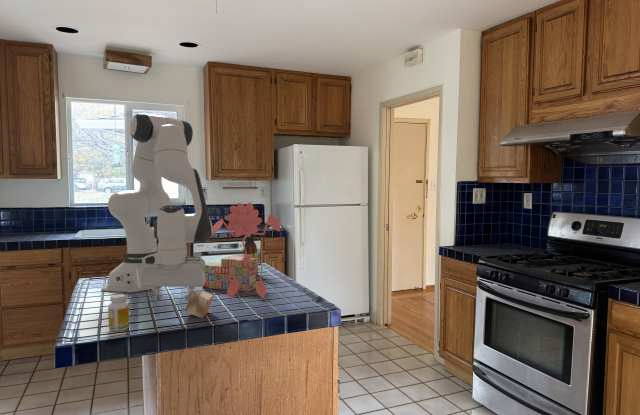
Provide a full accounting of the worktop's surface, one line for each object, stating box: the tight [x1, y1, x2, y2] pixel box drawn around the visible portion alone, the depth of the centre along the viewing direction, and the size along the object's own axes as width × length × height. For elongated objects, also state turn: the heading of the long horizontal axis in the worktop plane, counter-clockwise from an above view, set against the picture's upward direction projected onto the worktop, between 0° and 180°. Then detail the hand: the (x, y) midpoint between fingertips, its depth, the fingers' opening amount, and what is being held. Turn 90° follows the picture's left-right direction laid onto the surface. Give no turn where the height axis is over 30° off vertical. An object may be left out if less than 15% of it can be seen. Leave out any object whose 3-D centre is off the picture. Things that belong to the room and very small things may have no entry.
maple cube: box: [184, 288, 215, 319], centre depth 142 cm, size 6×6×6 cm
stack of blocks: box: [201, 255, 257, 293], centre depth 177 cm, size 21×6×12 cm, turn 71°
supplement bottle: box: [107, 293, 130, 332], centre depth 130 cm, size 5×5×10 cm
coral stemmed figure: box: [212, 202, 281, 308], centre depth 158 cm, size 15×26×35 cm, turn 86°
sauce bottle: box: [242, 234, 259, 277], centre depth 199 cm, size 6×6×20 cm
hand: (173, 299), depth 143 cm, fingers open, 8 cm apart
